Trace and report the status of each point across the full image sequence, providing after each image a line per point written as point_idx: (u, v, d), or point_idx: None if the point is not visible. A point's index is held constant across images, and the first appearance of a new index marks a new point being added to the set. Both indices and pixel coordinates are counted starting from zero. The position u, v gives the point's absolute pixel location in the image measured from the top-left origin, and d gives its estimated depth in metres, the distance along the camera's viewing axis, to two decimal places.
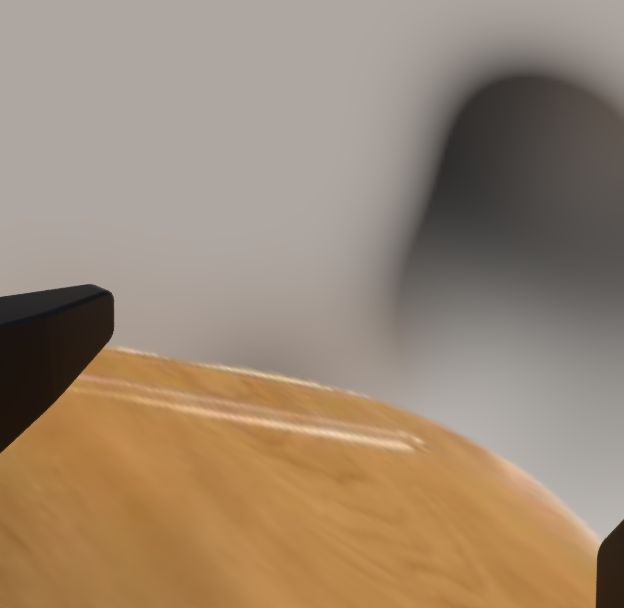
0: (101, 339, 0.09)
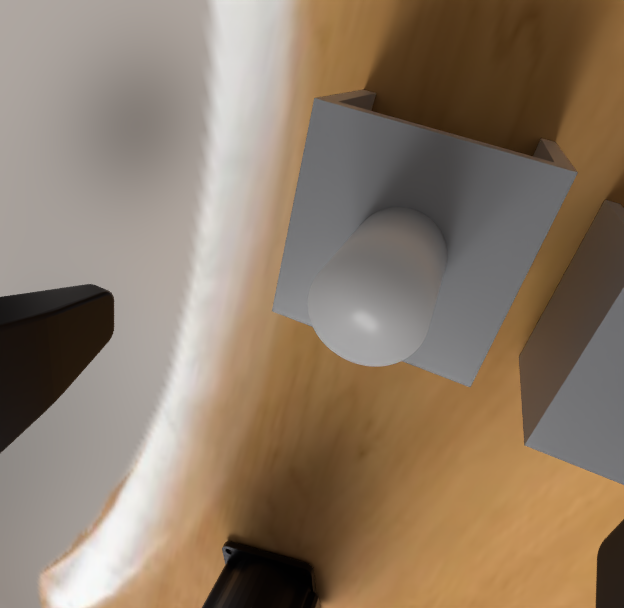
0: (101, 339, 0.09)
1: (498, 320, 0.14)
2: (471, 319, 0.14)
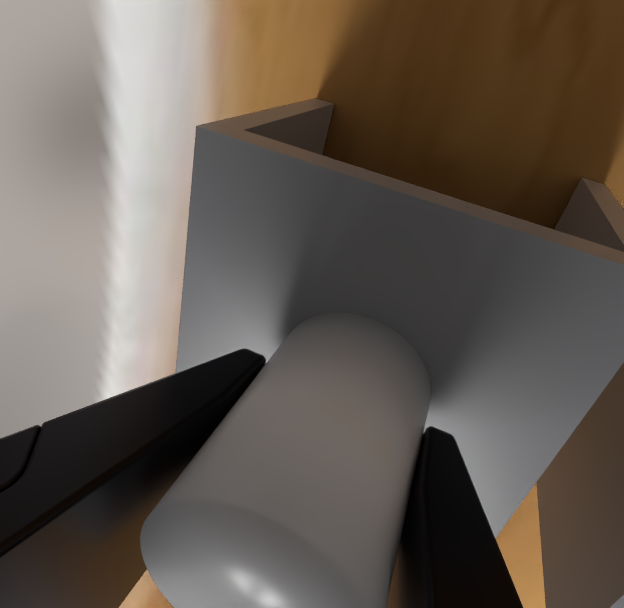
0: None
1: (515, 496, 0.08)
2: None
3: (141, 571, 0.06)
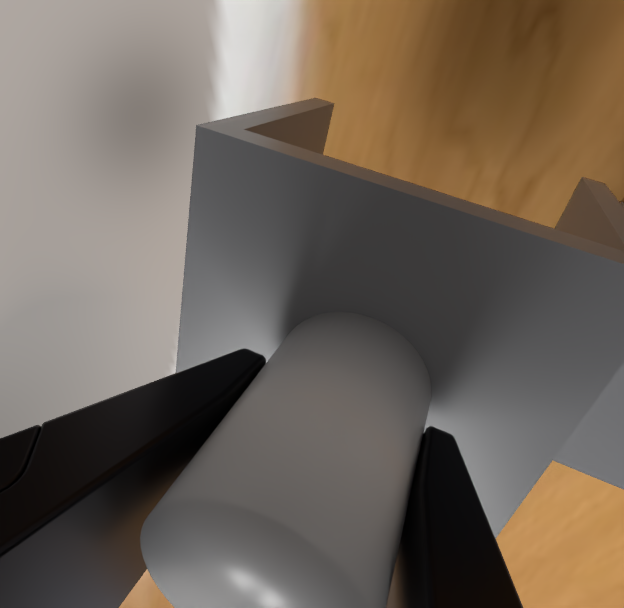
0: None
1: (516, 496, 0.08)
2: None
3: (141, 571, 0.06)
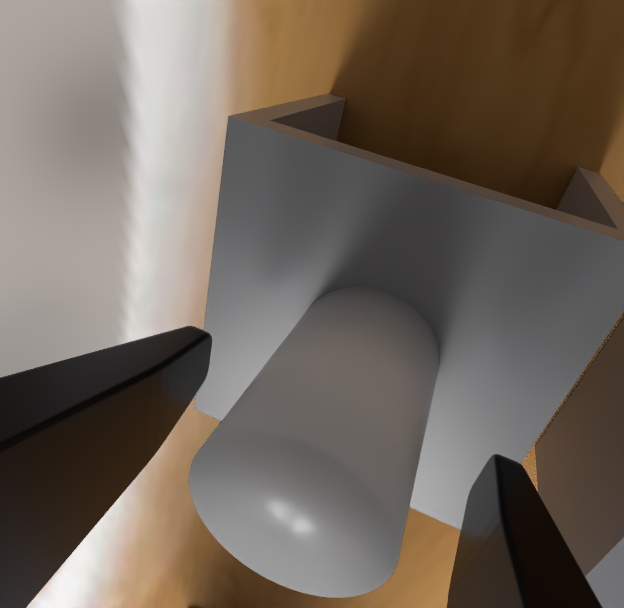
0: (198, 382, 0.08)
1: (516, 456, 0.09)
2: (475, 449, 0.09)
3: (79, 537, 0.07)
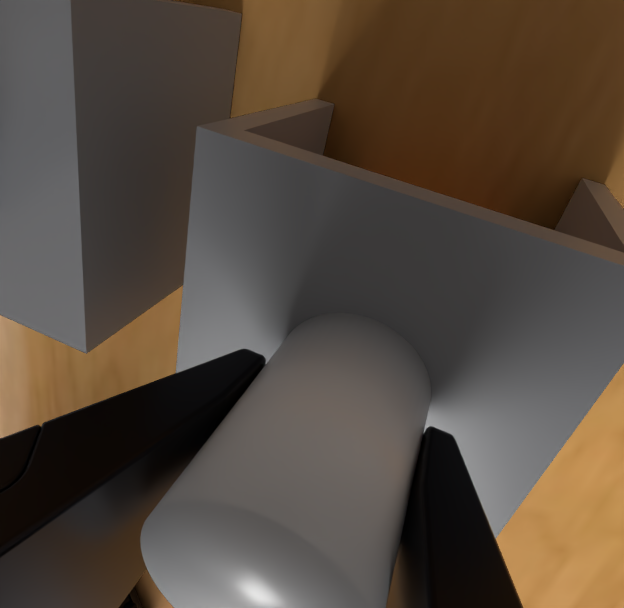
0: None
1: (77, 251, 0.09)
2: (48, 250, 0.10)
3: (141, 571, 0.06)
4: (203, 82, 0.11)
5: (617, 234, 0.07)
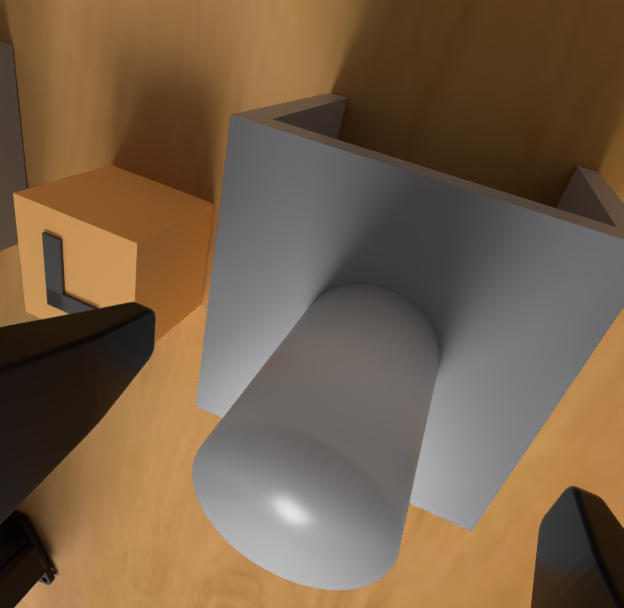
0: (142, 357, 0.08)
1: None
2: None
3: (14, 502, 0.07)
4: None
5: (607, 211, 0.08)
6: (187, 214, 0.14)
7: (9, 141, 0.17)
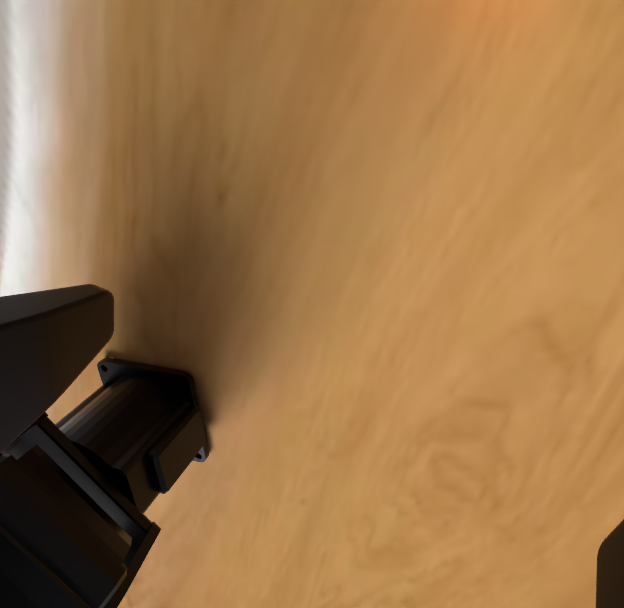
0: (101, 339, 0.09)
1: None
2: None
3: None
4: None
5: None
6: None
7: None
